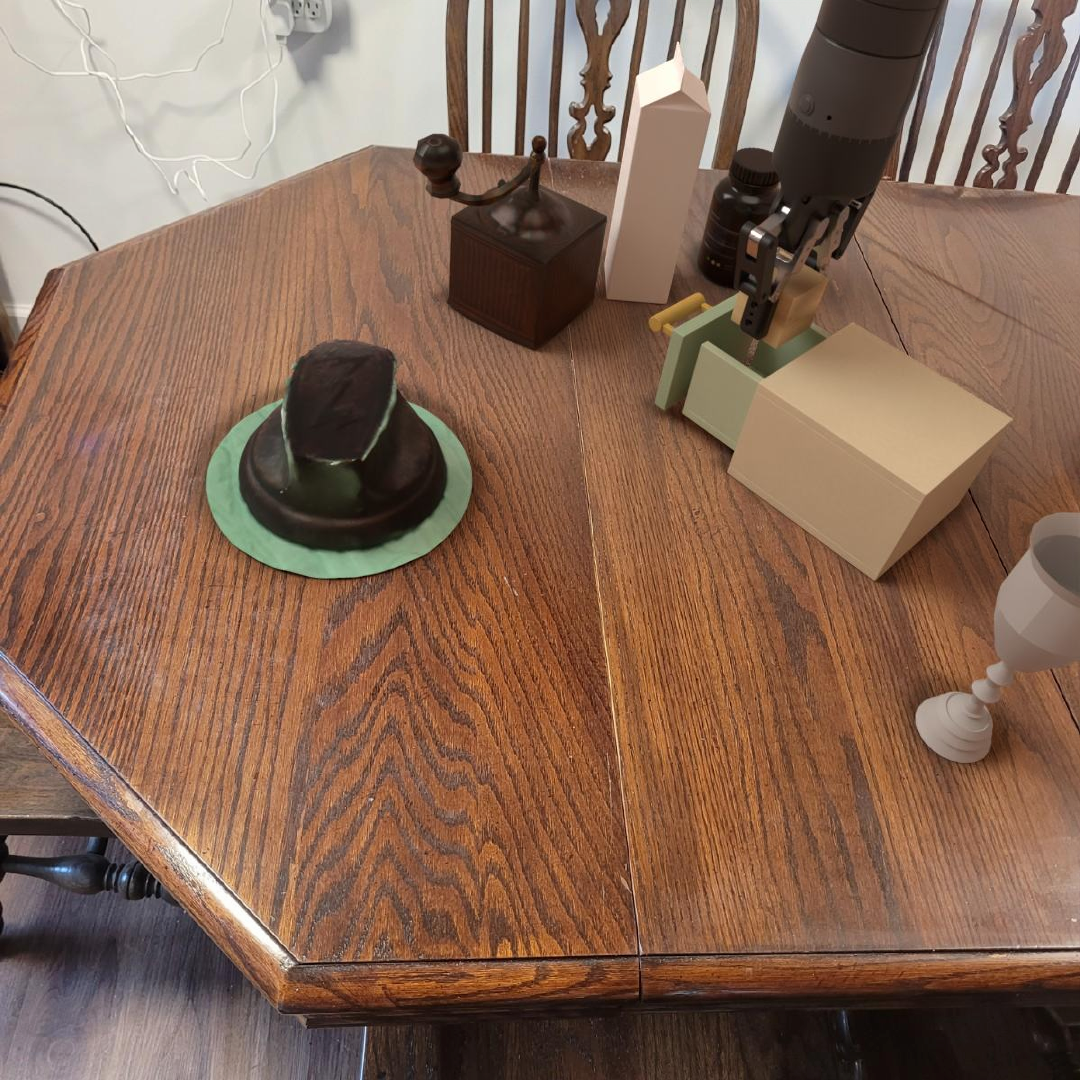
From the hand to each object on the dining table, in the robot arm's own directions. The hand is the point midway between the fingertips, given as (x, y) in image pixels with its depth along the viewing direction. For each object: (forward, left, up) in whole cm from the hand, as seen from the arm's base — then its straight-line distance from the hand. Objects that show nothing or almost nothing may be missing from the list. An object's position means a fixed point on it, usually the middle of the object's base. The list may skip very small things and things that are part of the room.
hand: (772, 320), depth 74 cm
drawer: (0, -1, -9) cm, 9 cm away
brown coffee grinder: (+7, -23, -10) cm, 26 cm away
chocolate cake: (+31, -15, -10) cm, 36 cm away
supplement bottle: (-17, -15, -10) cm, 25 cm away
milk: (-7, -19, -10) cm, 23 cm away
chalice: (+13, +29, -10) cm, 33 cm away
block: (0, 0, 0) cm, 0 cm away
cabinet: (0, +11, -10) cm, 15 cm away
